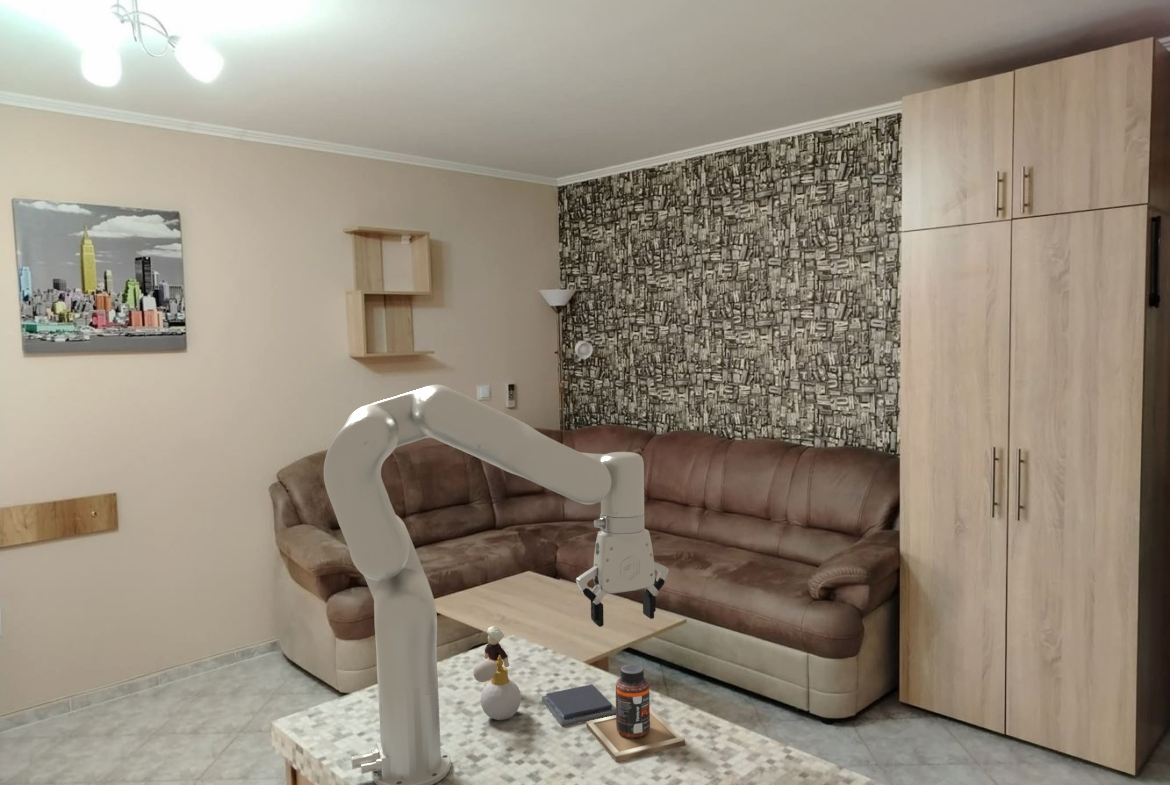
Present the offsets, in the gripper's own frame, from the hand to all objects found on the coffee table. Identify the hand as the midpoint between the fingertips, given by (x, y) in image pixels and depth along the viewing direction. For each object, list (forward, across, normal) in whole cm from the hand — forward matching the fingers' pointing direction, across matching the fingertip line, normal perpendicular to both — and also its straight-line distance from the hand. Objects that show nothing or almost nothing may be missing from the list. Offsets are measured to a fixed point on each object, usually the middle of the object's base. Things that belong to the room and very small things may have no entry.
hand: (623, 620), depth 137 cm
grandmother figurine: (+21, -16, +28) cm, 38 cm away
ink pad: (+21, -4, +13) cm, 25 cm away
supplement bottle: (+20, +1, -1) cm, 20 cm away
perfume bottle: (+21, -19, +15) cm, 32 cm away
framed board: (+21, +1, -1) cm, 21 cm away
